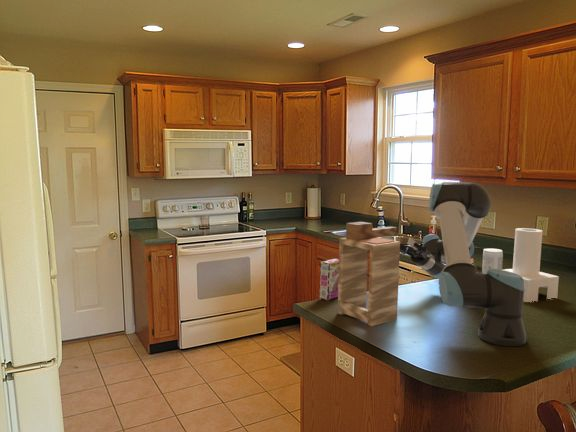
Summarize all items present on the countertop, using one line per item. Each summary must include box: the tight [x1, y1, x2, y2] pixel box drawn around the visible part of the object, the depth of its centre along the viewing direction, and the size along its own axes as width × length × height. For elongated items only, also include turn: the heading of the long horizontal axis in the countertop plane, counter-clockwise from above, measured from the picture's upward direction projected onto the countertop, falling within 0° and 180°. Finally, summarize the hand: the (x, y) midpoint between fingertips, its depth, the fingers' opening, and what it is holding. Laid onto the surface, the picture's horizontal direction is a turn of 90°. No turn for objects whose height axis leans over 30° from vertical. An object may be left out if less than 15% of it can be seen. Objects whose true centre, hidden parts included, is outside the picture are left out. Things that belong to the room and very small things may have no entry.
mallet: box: [345, 221, 398, 241], centre depth 189 cm, size 24×6×6 cm, turn 127°
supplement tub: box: [481, 247, 504, 274], centre depth 248 cm, size 10×10×15 cm
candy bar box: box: [319, 258, 339, 302], centre depth 209 cm, size 11×5×16 cm, turn 141°
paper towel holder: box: [503, 227, 560, 303], centre depth 216 cm, size 19×19×30 cm
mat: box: [360, 237, 396, 244], centre depth 179 cm, size 8×10×1 cm
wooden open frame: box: [337, 237, 401, 327], centre depth 184 cm, size 18×14×30 cm
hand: (395, 238), depth 199 cm, fingers open, 13 cm apart
